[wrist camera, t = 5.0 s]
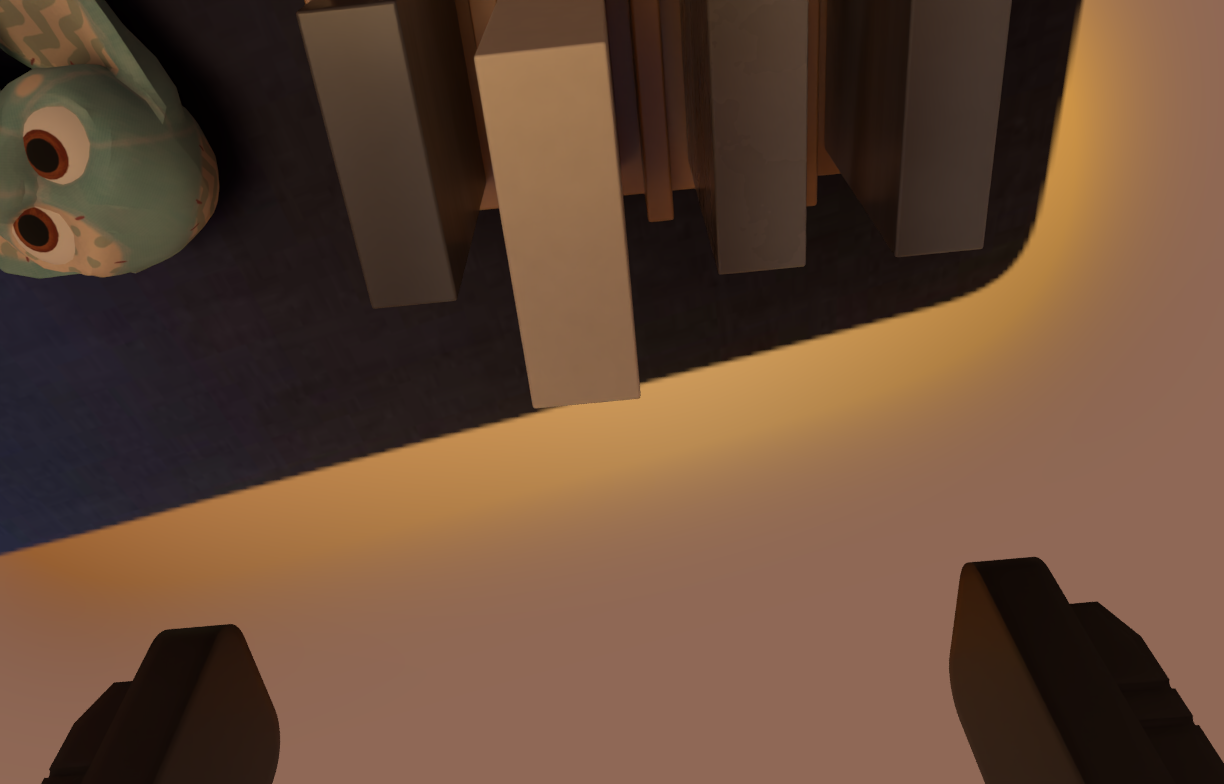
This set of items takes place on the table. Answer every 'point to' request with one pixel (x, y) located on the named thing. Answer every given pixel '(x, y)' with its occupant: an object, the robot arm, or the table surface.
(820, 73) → the brown wooden rack
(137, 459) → the table surface
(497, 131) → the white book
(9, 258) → the stuffed animal
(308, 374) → the table surface
